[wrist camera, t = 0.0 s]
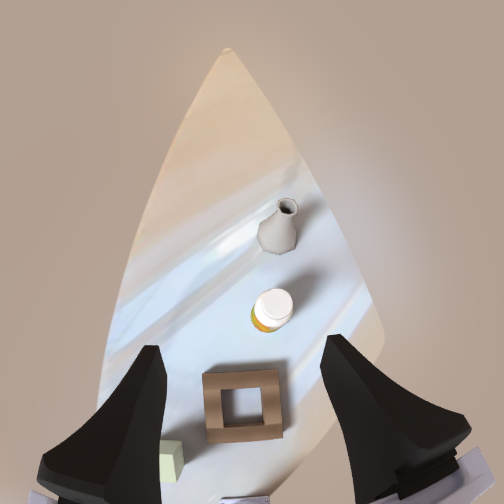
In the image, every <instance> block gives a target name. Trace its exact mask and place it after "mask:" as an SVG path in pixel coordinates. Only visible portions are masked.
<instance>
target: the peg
mask: <svg viewBox="0 0 504 504" xmlns="http://www.w3.org/2000/svg"><path fill="white" fill-rule="evenodd" d="M159 463H160V482H172V483H177V481H178V479H179V476H180V474H181V472H182V470H183V468H184V465H185V464H184V456H183V448H182V441H178V440H160V457H159Z"/></svg>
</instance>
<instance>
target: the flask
mask: <svg viewBox="0 0 504 504" xmlns="http://www.w3.org/2000/svg"><path fill="white" fill-rule="evenodd" d="M297 210H298V206H297V204H296V202H295V200H293V199H289V198H284V199H280V200H278V204H277V210H276V212H275V213H274V214H273V215H271V216H270V217H268V218H267V219H265V220H264V221H262V222H261V223H260V226H259V229H258V233H257V239H258V241H259V243H260V245H261V247H262V249H263V251H266V252H270V253H274V254H278V255H281V254H284V253H286V252H289V251H291V250H294V248H295V242H296V237H297V234H296V230H295V226H294V222H293V217H294V216H295V215H297Z"/></svg>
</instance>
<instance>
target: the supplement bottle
mask: <svg viewBox="0 0 504 504" xmlns="http://www.w3.org/2000/svg"><path fill="white" fill-rule="evenodd" d="M292 313H293V301H292V298H291V296H290V294H289V293H288V292H286V291H285V290H283V289H279V288H275V289H270V290H266V291H264V292H263V293H261V294H260V295H259V296H258V298H257V299H256V301H255V304H254V306H253V308H252V311H251V321H252V324H253V325H254V327H255V328H256V329H258V330H259V331H261V332H265V333H270V332H274V331H276V330H278V329H279V328H281V327H282V326H283V325H285V324H286V323H287V322H288V321H289V320H290V318H291V316H292Z"/></svg>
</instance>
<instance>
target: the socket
mask: <svg viewBox="0 0 504 504" xmlns="http://www.w3.org/2000/svg"><path fill="white" fill-rule="evenodd" d="M202 382H203V396H204V409H205V420H206V431H207V441H208V443H236V442H251V441H262V440H271V439H279V438H283V428H282V415H281V403H280V390H279V378H278V369H269V370H257V371H243V372H224V373H202ZM256 387H260V391H261V403H262V416H263V422H257V423H244V424H227V425H224V422H223V410H222V398H221V390H222V389H242V388H256Z"/></svg>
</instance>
